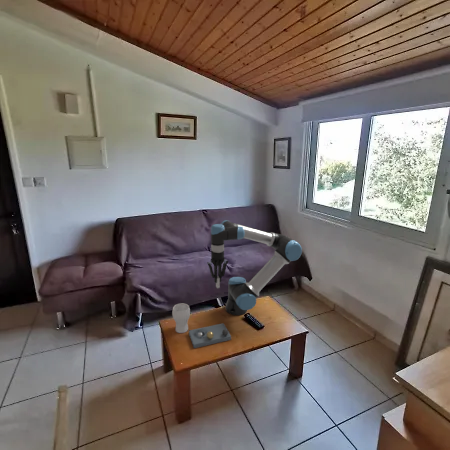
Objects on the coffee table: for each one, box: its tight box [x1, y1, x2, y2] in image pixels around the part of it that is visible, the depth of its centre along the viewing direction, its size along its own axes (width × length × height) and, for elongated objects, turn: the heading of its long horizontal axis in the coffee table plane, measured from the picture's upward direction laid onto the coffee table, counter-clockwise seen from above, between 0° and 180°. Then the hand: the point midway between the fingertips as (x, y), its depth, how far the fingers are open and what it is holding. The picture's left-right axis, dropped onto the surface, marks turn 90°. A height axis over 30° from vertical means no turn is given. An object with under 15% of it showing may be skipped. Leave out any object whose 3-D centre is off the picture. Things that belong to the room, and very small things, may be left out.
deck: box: [188, 322, 232, 349], centre depth 163 cm, size 22×13×2 cm, turn 110°
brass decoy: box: [207, 331, 214, 339], centre depth 158 cm, size 4×4×4 cm
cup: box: [171, 302, 191, 334], centre depth 168 cm, size 11×11×15 cm
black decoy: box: [222, 329, 229, 336], centre depth 161 cm, size 3×3×3 cm
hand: (217, 287), depth 168 cm, fingers closed
